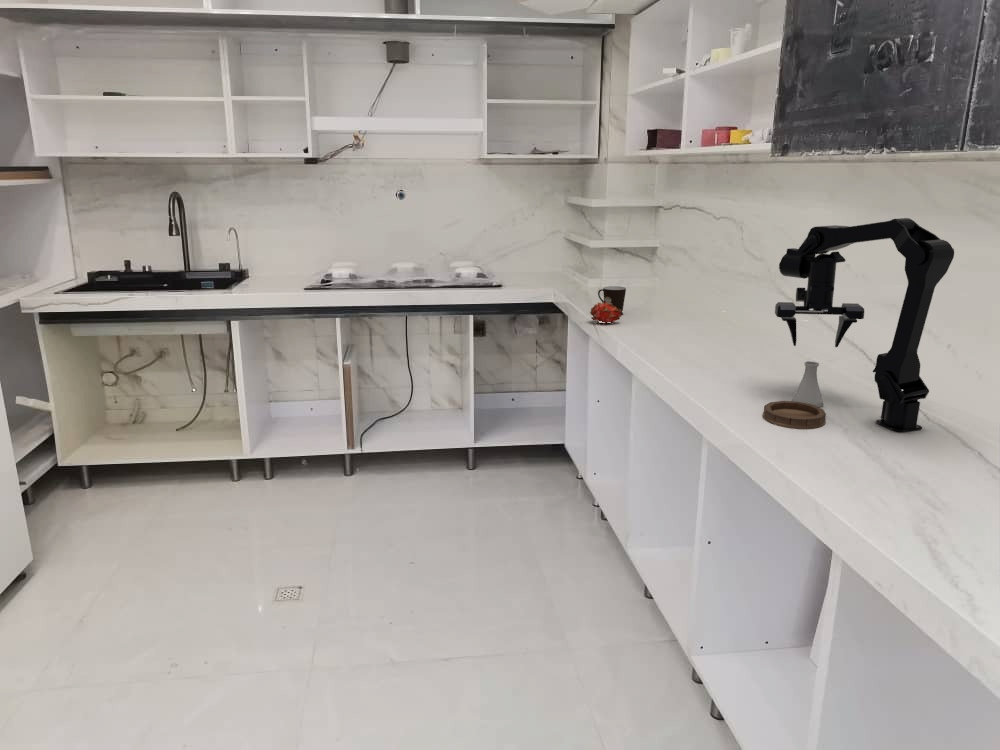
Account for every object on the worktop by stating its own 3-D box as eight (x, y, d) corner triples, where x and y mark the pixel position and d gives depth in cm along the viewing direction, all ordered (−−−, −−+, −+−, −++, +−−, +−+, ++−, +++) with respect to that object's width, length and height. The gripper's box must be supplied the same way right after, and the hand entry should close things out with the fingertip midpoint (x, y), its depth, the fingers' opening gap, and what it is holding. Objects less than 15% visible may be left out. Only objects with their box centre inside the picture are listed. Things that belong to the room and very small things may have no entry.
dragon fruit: (586, 327, 261) (619, 332, 261) (590, 317, 253) (624, 322, 253) (589, 306, 264) (621, 310, 264) (592, 295, 256) (626, 300, 256)
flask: (796, 397, 176) (800, 357, 173) (827, 402, 172) (832, 362, 169) (786, 404, 171) (790, 363, 168) (818, 410, 166) (823, 368, 164)
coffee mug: (628, 315, 273) (630, 289, 270) (607, 317, 271) (608, 290, 268) (616, 309, 284) (617, 284, 281) (595, 311, 281) (596, 285, 279)
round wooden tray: (838, 425, 157) (840, 415, 156) (787, 431, 153) (788, 422, 153) (798, 406, 169) (799, 398, 168) (750, 412, 165) (751, 403, 165)
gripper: (857, 276, 174) (850, 340, 178) (774, 276, 178) (770, 338, 182) (868, 283, 163) (860, 350, 167) (780, 282, 168) (774, 347, 172)
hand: (815, 346), depth 172 cm, fingers open, 9 cm apart
